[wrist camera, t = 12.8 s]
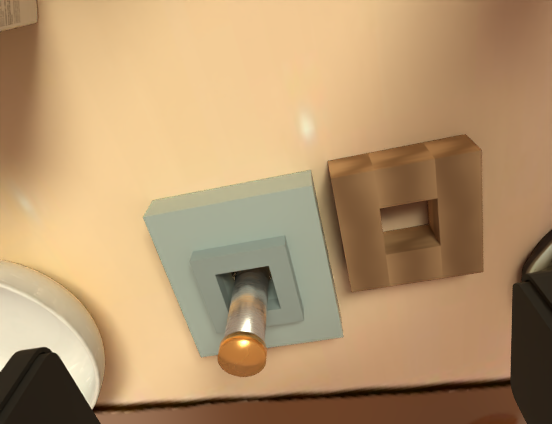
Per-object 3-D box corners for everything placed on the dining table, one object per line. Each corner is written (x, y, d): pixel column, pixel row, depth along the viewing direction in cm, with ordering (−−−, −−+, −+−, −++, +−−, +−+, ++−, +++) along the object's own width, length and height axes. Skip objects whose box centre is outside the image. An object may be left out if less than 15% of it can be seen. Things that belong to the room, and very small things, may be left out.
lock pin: (267, 243, 42) (259, 338, 31) (276, 273, 43) (270, 373, 33) (232, 250, 42) (211, 345, 31) (241, 279, 44) (225, 379, 33)
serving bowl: (-128, 249, 44) (-196, 295, 37) (73, 211, 41) (35, 254, 35) (-17, 396, 53) (-57, 452, 47) (152, 373, 50) (133, 429, 44)
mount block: (465, 134, 36) (481, 150, 33) (469, 248, 41) (483, 271, 38) (327, 161, 37) (330, 178, 34) (347, 268, 43) (351, 292, 39)
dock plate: (310, 169, 38) (312, 194, 34) (340, 315, 45) (345, 349, 41) (152, 200, 40) (137, 226, 36) (206, 335, 47) (198, 369, 43)
